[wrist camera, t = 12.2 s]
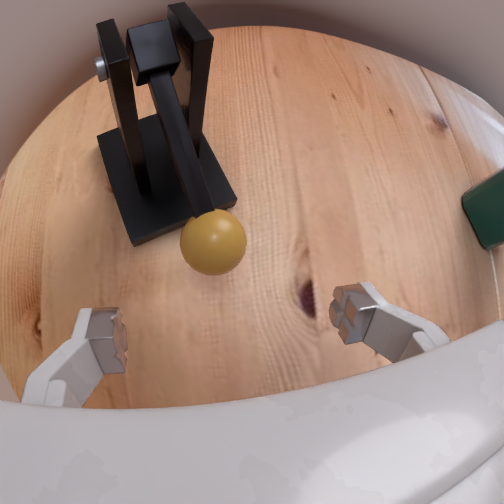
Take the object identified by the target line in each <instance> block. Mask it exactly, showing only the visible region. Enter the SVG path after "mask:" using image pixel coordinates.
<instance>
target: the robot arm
mask: <svg viewBox="0 0 504 504" xmlns="http://www.w3.org/2000/svg"><path fill="white" fill-rule="evenodd" d="M333 297H334V298H335V299H334V300H333V301H332V302H331V304H330V307H329V317H330V320H331V323H332V324H333V326H334V327H336V328H338V329H339V332H338V334H339V336H340V337H341V339H342V341H343V342H344V344H345V345H347V344H352V343H357V342H362V341H363V343H365V344H366V345H368V346H369V347H371V348H372V349H374V350H375V351H376V352H378V353H379V354H381V355H382V356H384V357H385V358H387V359H388V360H390V361H391V362H393V364H390V365H387V366H384V367H381V368H378V369H374V370H371V371H368V372H364V373H361V374H358V375H354V376H350V377H347V378H343V379H339V380H336V381H332V382H328V383H324V384H320V385H315V386H311V387H307V388H302V389H297V390H293V391H288V392H283V393H277V394H272V395H267V396H261V397H255V398H249V399H242V400H235V401H228V402H220V403H211V404H202V405H192V406H180V407H165V408H144V409H89V408H82V406H83V405H84V403H85V402H86V400H87V399H88V397H89V396H90V395H91V393H92V392H93V390H94V389H95V388H96V386H97V385H98V383H99V382H100V380H101V379H102V378H103V376H104V374H120V373H126V362H127V358H126V355H125V352H126V351H127V350H128V337H127V331H126V327H125V325H124V324H123V323H122V313H121V309H120V308H119V307H105V308H81V309H80V310H79V312H78V316H77V319H76V322H75V326H74V329H73V333H72V336H71V339H67V340H66V341H65V342H64V343H63V344H62V345H61V346H60V347H59V348H57V349H56V350H55V351H54V352H53V353H52V354H51V355H50V356H49V357H48V358H47V359H46V360H45V361H43V362H42V363H41V364H40V365H39V366H38V367H37V368H36V369H35V370H34V371H33V372H32V373H31V374H30V375H29V376H28V377H27V380H26V384H25V387H24V391H23V395H22V399H21V403H18V402H11V401H5V400H0V504H504V320H497V321H495V322H493V323H491V324H489V325H487V326H485V327H483V328H481V329H478V330H476V331H474V332H472V333H470V334H468V335H465V336H463V337H461V338H459V339H456V340H454V341H452V342H451V340H450V339H449V338H448V337H447V336H446V335H445V333H444V332H443V331H442V330H441V329H440V328H439V326H438V325H437V324H434V323H432V322H430V321H428V320H426V319H424V318H422V317H419V316H417V315H415V314H413V313H411V312H409V311H407V310H404V309H402V308H400V307H398V306H396V305H394V304H389V303H388V302H387V301H386V300H385V299H384V297H383V296H382V295H381V294H380V293H379V292H378V291H377V289H376V288H375V287H374V286H373V285H372V284H371V283H370V282H362V283H357V284H351V285H344V286H337V287H336V288H335V289H334V292H333Z"/></svg>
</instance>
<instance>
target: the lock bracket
mask: <svg viewBox="0 0 504 504" xmlns="http://www.w3.org/2000/svg"><path fill="white" fill-rule="evenodd" d="M167 19H168V20H169V23H170V27H171V30H172V33H173V36H174V39H175V43H176V46H177V49H178V52H179V55H180V58H181V62H180V64H179V66H178V68H177V70H176V72H175V74H174V75H173V76H171V77H172V80H173V84H174V87H175V90H176V93H177V96H178V99H179V103H180V106H181V109H182V112H183V115H184V118H185V121H186V124H187V128H188V131H189V134H190V137H191V140H192V143H193V146H194V149H195V152H196V155H197V158H198V161H199V164H200V167H201V170H202V173H203V176H204V179H205V182H206V185H207V188H208V191H209V194H210V197H211V200H212V203H213V206H214V209H220V210H224V209H227V208H229V207H232V206H234V205H235V204H236V201H237V197H236V195H235V194H234V192H233V190H232V188H231V186H230V184H229V182H228V180H227V178H226V176H225V174H224V172H223V171H222V169H221V167H220V165H219V163H218V161H217V159H216V157H215V155H214V153H213V152H212V150H211V148H210V146H209V144H208V142H207V140H206V138H205V136H204V134H203V133H202V126H203V116H204V108H205V99H206V91H207V83H208V76H209V69H210V62H211V55H212V48H213V41H214V37H213V36H212V34H211V33H210V32H209V31H208V29H207V28H206V27H205V26H204V25H203V23H202V22H201V21H200V20H199V18H198V17H197V16H196V15H195V14H194V12H193V11H192V10H191V9H190V8H189V7H188V5H187V4H186V3H185V2H182V3H176V4H170V5H168V13H167ZM96 27H97V33H98V39H99V44H100V50H101V56H100V57H97V58H95V59H94V62H95V66H96V70H97V75H98V79H99V82H102V81H104V80H107V84H108V88H109V93H110V97H111V101H112V105H113V109H114V113H115V117H116V121H117V125H118V128H115V129H113V130H110V131H108V132H105V133H103V134H100V135H98V136H97V140H98V143H99V147H100V150H101V154H102V157H103V161H104V164H105V167H106V171H107V174H108V177H109V180H110V183H111V187H112V190H113V193H114V196H115V199H116V202H117V205H118V207H119V210H120V213H121V216H122V219H123V222H124V224H125V227H126V230H127V233H128V235H129V238H130V241H131V243H132V245H133V246H134V247H136V246H138V245H140V244H143V243H145V242H147V241H150V240H152V239H154V238H157V237H159V236H161V235H163V234H166V233H168V232H171V231H173V230H175V229H178V228H180V227H182V226H185V224H186V223H187V221H188V220H189V219H190V218H191V217H192V215H191V213H190V210H189V207H188V204H187V201H186V199H185V196H184V193H183V190H182V187H181V184H180V181H179V178H178V176H177V173H176V170H175V167H174V164H173V161H172V158H171V155H170V152H169V149H168V146H167V143H166V140H165V137H164V133H163V130H162V127H161V124H160V121H159V118H158V115H157V114H154V115H151V116H148V117H145V118H142V119H139V120H138V115H137V109H136V103H135V96H134V89H133V82H132V74H131V67H130V58H129V55H128V53H127V51H126V48H125V46H124V43H123V41H122V38H121V36H120V33H119V31H118V28H117V26H116V23H115V20H114V19H109V20H107V21H104V22H100V23H97V24H96Z"/></svg>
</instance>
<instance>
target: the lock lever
mask: <svg viewBox="0 0 504 504" xmlns="http://www.w3.org/2000/svg"><path fill="white" fill-rule="evenodd" d="M126 51H127V53H128V55H129V58H130V66H131V69H132V73H133V76H134V80H135V83H136V86H141V85H144V84H147V83H148V85H149V89H150V92H151V95H152V99H153V102H154V105H155V108H156V111H157V115H158V118H159V121H160V124H161V127H162V130H163V133H164V137H165V140H166V143H167V146H168V149H169V152H170V155H171V158H172V161H173V164H174V167H175V170H176V173H177V176H178V178H179V181H180V184H181V187H182V190H183V193H184V196H185V199H186V201H187V204H188V207H189V210H190V213H191V215H192V217H191V218H190V219H189V220H188V221H187V223H186V224H185V226H184V228H183V230H182V233H181V238H180V247H181V252H182V254H183V257H184V259H185V260H186V262H187V263H188V264H189V265H190V266H191V267H192V268H193V269H194V270H196V271H198V272H200V273H202V274H206V275H221V274H225V273H227V272H229V271H231V270H232V269H234V268H235V267H236V266H237V265H238V264H239V263H240V261H241V260H242V258H243V256H244V254H245V251H246V245H247V239H246V234H245V230H244V228H243V226H242V224H241V223H240V221H239V220H238V219H237V218H236V217H235V216H233V215H232V214H230V213H229V212H227V211H224V210H220V209H214V206H213V203H212V200H211V197H210V194H209V191H208V188H207V185H206V182H205V179H204V176H203V173H202V170H201V167H200V164H199V161H198V158H197V155H196V152H195V149H194V146H193V143H192V140H191V137H190V134H189V131H188V128H187V124H186V121H185V118H184V115H183V112H182V109H181V106H180V103H179V99H178V96H177V93H176V90H175V87H174V84H173V80H172V77H171V76H173V75H174V74H175V72H176V70H177V68H178V66H179V64H180V62H181V58H180V55H179V52H178V49H177V46H176V43H175V39H174V36H173V33H172V30H171V27H170V23H169V20H168V19H165V20H161V21H157V22H152V23H148V24H144V25H140V26H136V27H132V28H129V29H127V34H126Z"/></svg>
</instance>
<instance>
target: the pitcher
mask: <svg viewBox="0 0 504 504" xmlns="http://www.w3.org/2000/svg"><path fill="white" fill-rule="evenodd" d="M463 206H464V209H465V211H466V213H467V215H468V217H469V219H470V221H471V223H472V225H473V227H474V230H475V232H476V234H477V236H478V238H479V240H480V243H481V244H482V245H483V246H484V247H485V248H486V249H494V248H496V247H499V246H501V245H504V166H503V167H502V168H500V169H499V170H497V171H495V172H494V173H492V174H491V175H489V176H488V177H486V178H484V179H483V180H481V181H479V182H478V183H476V184H475V185H474V186H473V187H471V188H470V189H469V190H467V191H466V192H465V193H464V195H463Z"/></svg>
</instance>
